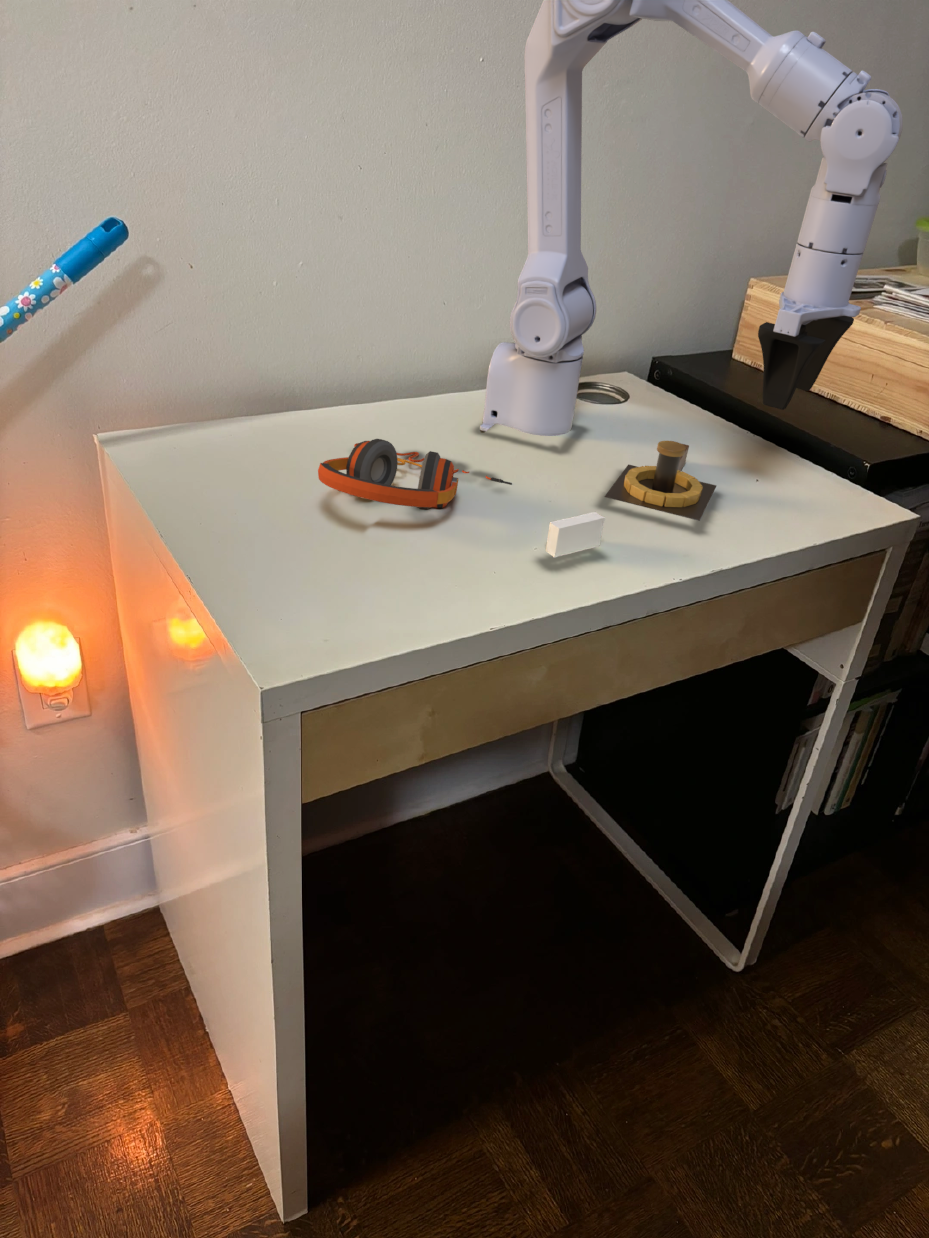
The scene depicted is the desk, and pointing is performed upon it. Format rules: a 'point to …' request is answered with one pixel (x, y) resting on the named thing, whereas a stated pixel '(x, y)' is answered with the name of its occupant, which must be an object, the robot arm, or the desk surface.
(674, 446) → the stand
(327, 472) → the headphones
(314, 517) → the desk surface
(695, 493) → the ring
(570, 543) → the eraser
